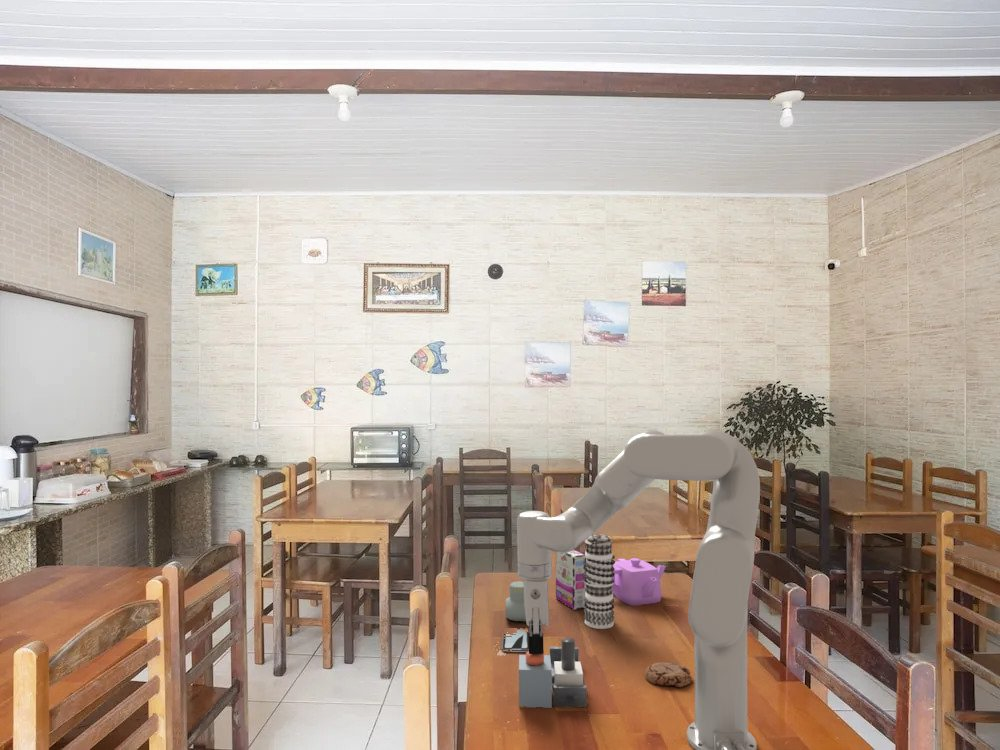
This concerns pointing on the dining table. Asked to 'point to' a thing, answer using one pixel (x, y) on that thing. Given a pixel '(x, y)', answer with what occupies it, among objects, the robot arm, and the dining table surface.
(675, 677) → the cookie
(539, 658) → the button
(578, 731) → the dining table surface
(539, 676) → the button housing
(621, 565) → the teakettle
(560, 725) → the dining table surface
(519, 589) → the air freshener
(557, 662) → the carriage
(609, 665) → the dining table surface
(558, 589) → the candy bar box
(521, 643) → the smartphone
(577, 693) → the rail
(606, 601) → the decorative candle
